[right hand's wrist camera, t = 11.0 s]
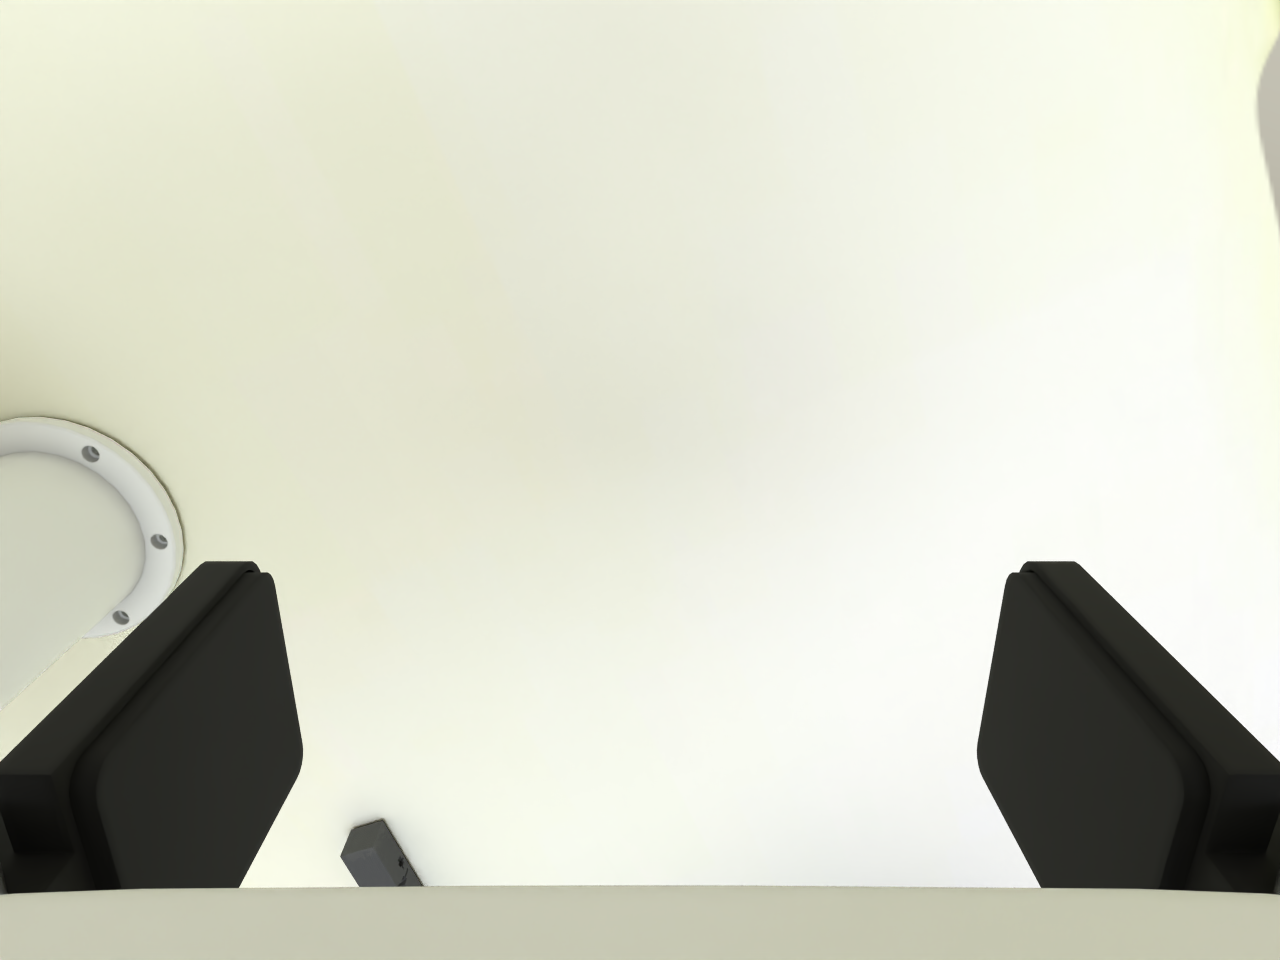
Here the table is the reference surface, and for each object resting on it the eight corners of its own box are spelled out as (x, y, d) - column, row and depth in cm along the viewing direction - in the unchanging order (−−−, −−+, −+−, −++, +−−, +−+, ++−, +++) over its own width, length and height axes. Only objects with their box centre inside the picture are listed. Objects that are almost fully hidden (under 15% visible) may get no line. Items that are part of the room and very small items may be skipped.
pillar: (372, 846, 52) (504, 1062, 59) (382, 820, 54) (509, 1031, 61) (340, 856, 53) (475, 1069, 60) (351, 829, 55) (480, 1038, 62)
